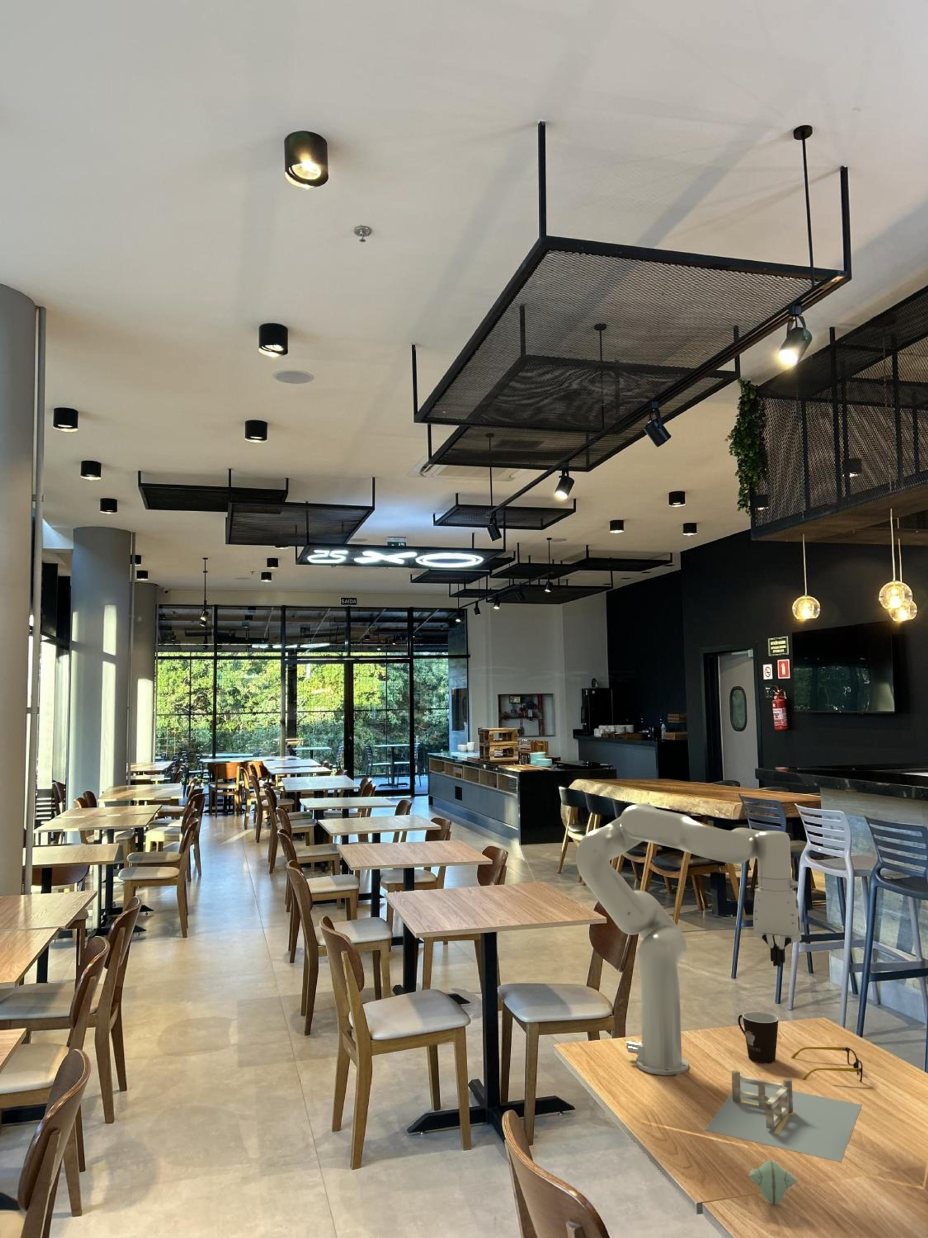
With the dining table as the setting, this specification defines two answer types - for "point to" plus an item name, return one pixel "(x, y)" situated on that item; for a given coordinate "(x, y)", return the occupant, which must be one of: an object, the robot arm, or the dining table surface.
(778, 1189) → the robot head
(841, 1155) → the card
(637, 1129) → the dining table surface
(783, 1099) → the fence gate
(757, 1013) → the coffee mug
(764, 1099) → the fence section
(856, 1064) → the eyeglasses
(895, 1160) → the dining table surface
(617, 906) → the robot arm
